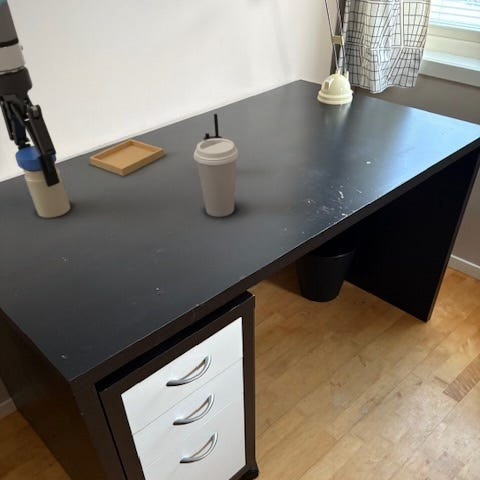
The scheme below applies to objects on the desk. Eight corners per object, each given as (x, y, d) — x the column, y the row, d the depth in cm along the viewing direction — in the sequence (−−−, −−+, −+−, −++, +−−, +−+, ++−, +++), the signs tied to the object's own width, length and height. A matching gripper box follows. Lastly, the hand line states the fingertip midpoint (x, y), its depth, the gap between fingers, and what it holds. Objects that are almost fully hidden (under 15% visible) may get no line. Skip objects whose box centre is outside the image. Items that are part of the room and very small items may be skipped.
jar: (30, 211, 112) (14, 167, 105) (57, 198, 117) (43, 155, 109) (50, 221, 109) (34, 175, 101) (76, 207, 113) (63, 162, 106)
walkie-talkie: (206, 176, 123) (200, 116, 113) (206, 170, 125) (201, 112, 115) (224, 176, 122) (221, 116, 112) (225, 170, 125) (221, 111, 115)
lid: (63, 160, 105) (60, 151, 104) (30, 173, 101) (26, 163, 99) (44, 151, 109) (41, 141, 108) (11, 163, 105) (8, 153, 103)
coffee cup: (233, 196, 114) (230, 134, 104) (246, 215, 107) (244, 150, 97) (194, 204, 112) (187, 140, 102) (205, 223, 105) (199, 158, 95)
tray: (91, 164, 131) (89, 157, 130) (132, 145, 140) (130, 139, 138) (123, 176, 125) (121, 168, 123) (164, 155, 133) (163, 148, 132)
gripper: (52, 73, 89) (83, 186, 104) (-1, 56, 100) (34, 160, 115) (15, 83, 85) (53, 199, 100) (-36, 64, 96) (5, 171, 111)
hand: (43, 178), depth 108 cm, fingers closed on lid, 8 cm apart
